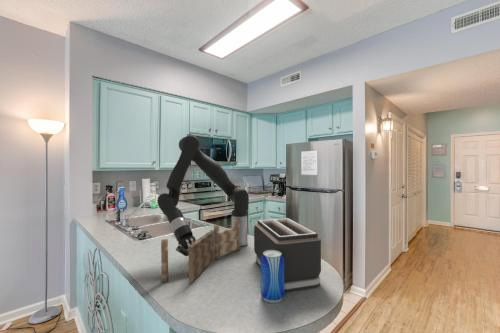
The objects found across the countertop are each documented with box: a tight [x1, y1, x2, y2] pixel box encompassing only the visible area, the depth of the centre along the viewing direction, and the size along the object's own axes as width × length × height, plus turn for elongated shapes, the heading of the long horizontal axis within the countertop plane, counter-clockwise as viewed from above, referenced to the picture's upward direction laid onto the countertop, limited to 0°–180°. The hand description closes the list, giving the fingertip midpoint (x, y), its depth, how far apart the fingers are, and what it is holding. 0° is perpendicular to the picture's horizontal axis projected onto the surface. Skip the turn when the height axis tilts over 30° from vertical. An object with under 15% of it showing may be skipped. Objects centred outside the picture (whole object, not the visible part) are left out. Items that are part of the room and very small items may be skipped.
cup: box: [184, 217, 193, 230], centre depth 163 cm, size 8×8×10 cm
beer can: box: [260, 250, 285, 304], centre depth 85 cm, size 8×8×16 cm
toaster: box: [253, 217, 322, 293], centre depth 106 cm, size 19×35×20 cm, turn 15°
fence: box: [160, 219, 241, 284], centre depth 114 cm, size 47×3×17 cm, turn 141°
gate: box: [188, 229, 214, 283], centre depth 107 cm, size 24×2×14 cm, turn 167°
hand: (197, 262), depth 104 cm, fingers closed
